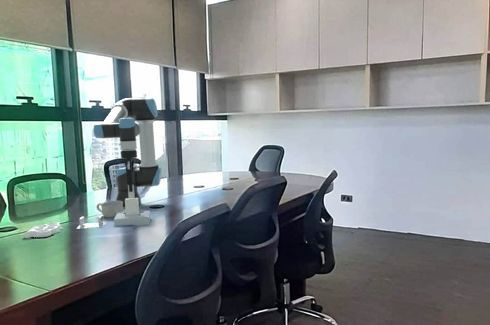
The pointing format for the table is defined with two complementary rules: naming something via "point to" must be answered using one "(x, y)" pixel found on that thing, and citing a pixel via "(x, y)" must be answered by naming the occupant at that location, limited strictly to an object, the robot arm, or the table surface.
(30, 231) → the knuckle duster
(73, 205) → the table surface
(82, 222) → the holster
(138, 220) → the switch box
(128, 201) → the plug
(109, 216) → the teacup
